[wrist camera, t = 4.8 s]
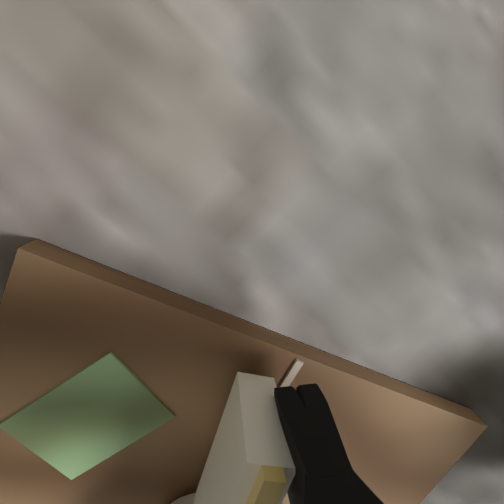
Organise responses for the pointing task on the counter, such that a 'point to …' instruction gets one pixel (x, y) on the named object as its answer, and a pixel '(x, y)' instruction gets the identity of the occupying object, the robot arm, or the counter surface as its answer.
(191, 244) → the counter surface
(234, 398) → the peg
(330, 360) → the board
